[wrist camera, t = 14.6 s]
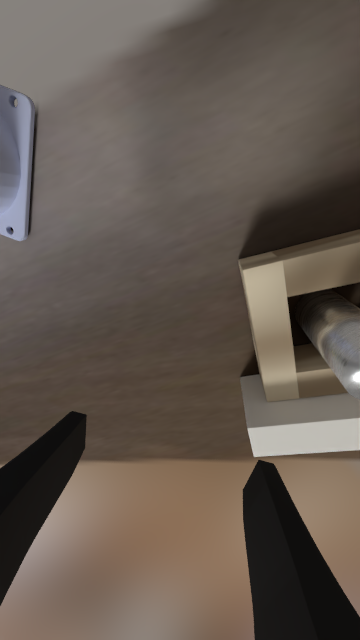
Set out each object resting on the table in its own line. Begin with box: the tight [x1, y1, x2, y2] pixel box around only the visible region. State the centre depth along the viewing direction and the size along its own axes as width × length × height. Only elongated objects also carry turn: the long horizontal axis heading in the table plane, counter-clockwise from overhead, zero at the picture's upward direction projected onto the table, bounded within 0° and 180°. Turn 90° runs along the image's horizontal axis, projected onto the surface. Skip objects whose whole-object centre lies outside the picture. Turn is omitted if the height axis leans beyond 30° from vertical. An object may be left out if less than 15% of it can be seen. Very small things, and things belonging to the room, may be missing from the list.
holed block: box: [238, 229, 360, 402], centre depth 15 cm, size 9×9×3 cm
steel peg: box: [295, 289, 360, 400], centre depth 13 cm, size 3×3×7 cm
